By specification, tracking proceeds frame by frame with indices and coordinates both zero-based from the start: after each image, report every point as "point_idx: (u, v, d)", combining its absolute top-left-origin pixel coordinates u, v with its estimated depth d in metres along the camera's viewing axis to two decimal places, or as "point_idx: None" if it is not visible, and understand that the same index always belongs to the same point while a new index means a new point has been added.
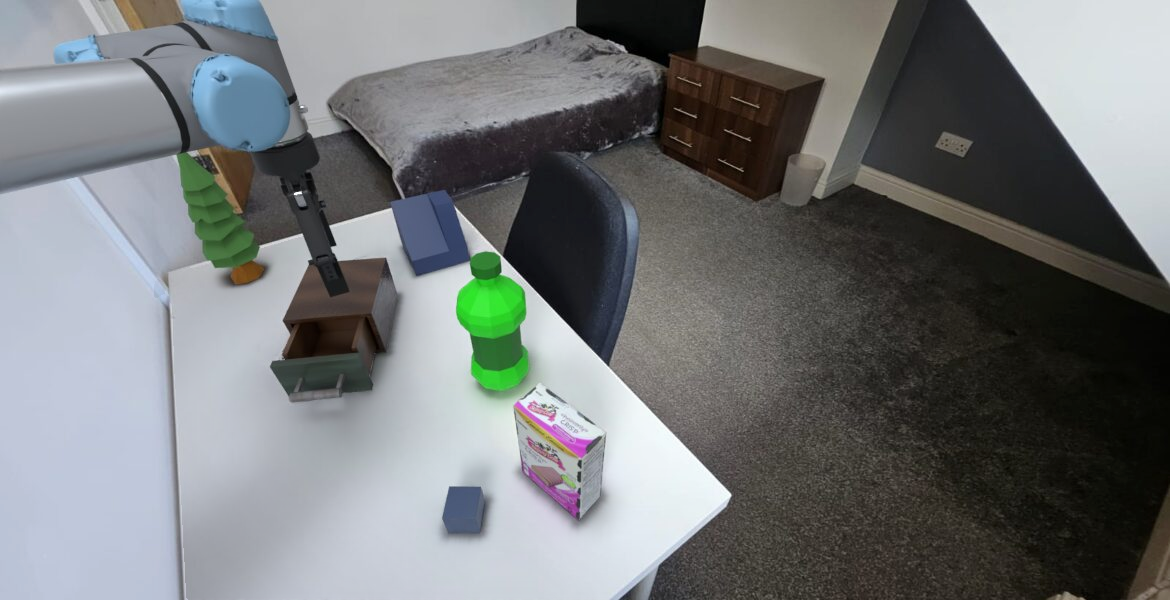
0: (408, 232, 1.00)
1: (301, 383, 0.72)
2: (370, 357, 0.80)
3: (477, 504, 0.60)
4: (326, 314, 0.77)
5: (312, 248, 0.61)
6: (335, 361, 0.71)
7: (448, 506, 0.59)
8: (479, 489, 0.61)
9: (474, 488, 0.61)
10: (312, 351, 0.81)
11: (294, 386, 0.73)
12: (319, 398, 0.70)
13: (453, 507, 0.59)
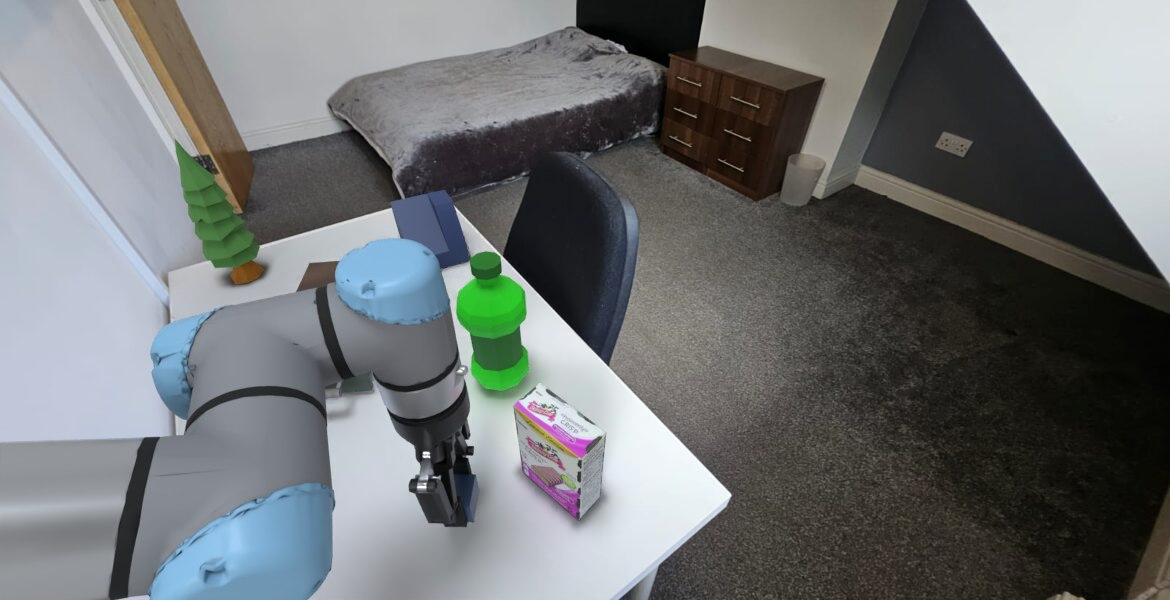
0: (408, 232, 1.00)
1: None
2: None
3: (471, 492, 0.57)
4: None
5: (429, 515, 0.49)
6: None
7: None
8: (473, 477, 0.59)
9: (468, 476, 0.59)
10: None
11: None
12: None
13: None
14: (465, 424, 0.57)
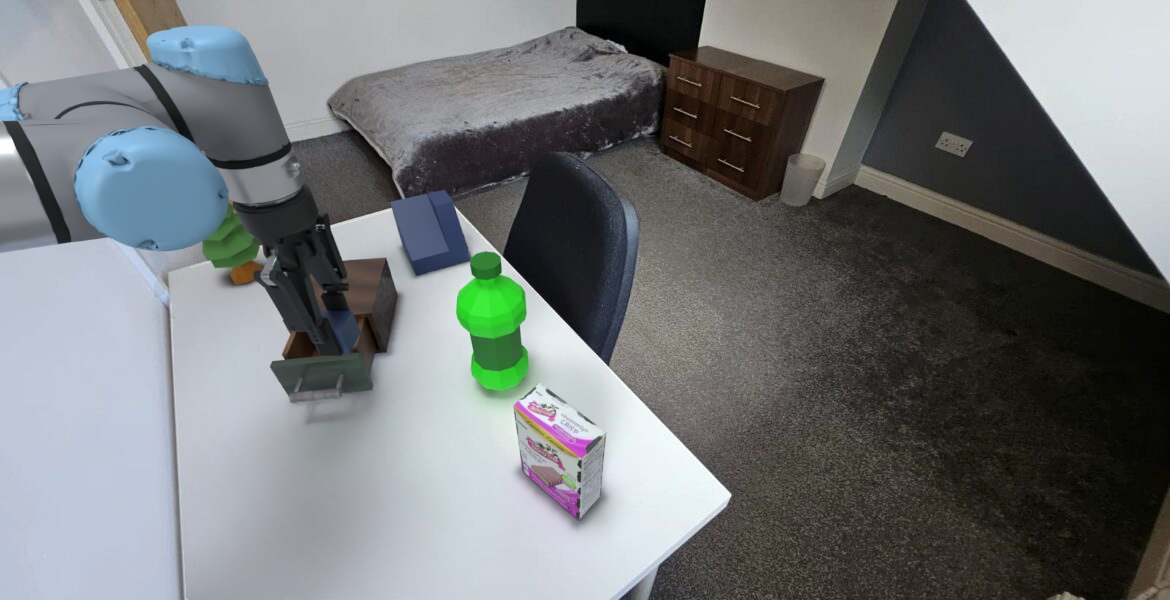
0: (408, 232, 1.00)
1: (301, 383, 0.72)
2: (370, 357, 0.80)
3: (344, 323, 0.63)
4: None
5: (287, 319, 0.55)
6: (335, 361, 0.71)
7: None
8: (349, 312, 0.65)
9: (345, 312, 0.65)
10: (312, 351, 0.81)
11: (294, 386, 0.73)
12: (319, 398, 0.70)
13: None
14: (337, 260, 0.63)
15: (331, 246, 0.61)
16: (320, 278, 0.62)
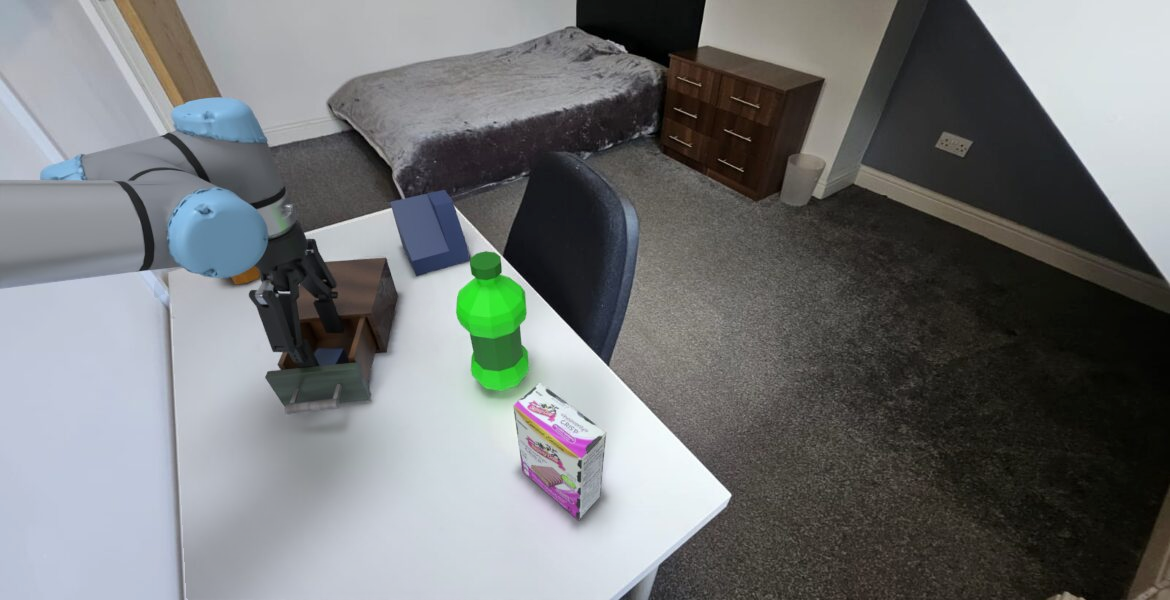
0: (408, 232, 1.00)
1: (297, 394, 0.70)
2: (368, 366, 0.78)
3: (337, 359, 0.75)
4: None
5: (271, 339, 0.63)
6: (332, 371, 0.70)
7: None
8: (341, 350, 0.76)
9: (337, 349, 0.76)
10: None
11: (290, 396, 0.72)
12: (315, 409, 0.69)
13: None
14: (327, 275, 0.73)
15: (320, 265, 0.72)
16: (312, 290, 0.72)
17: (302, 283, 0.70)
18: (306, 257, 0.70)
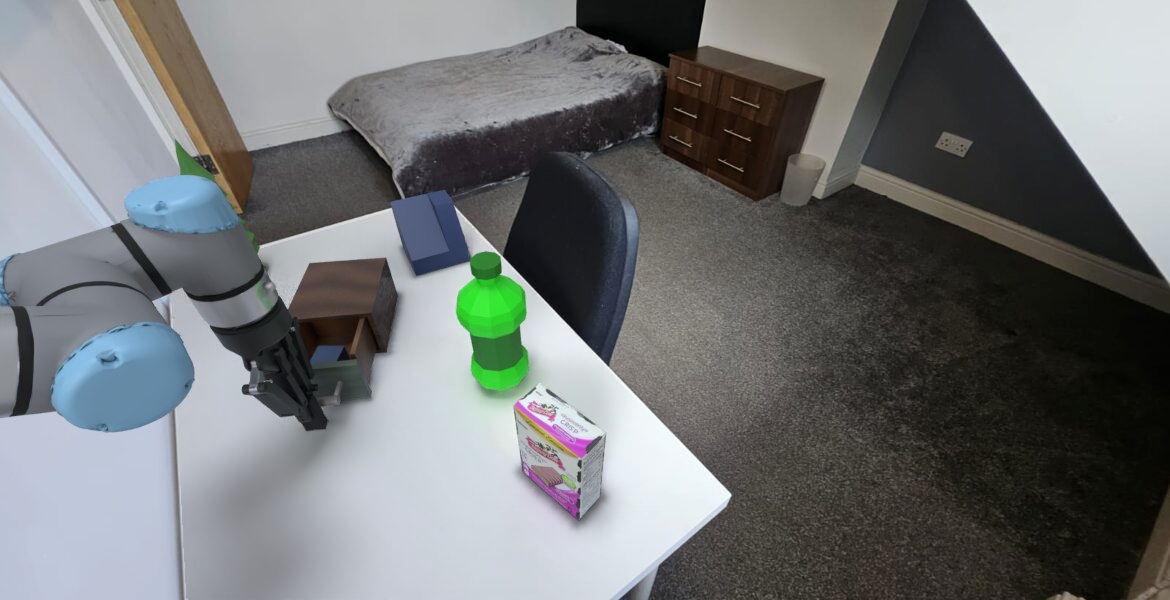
0: (408, 232, 1.00)
1: None
2: (369, 363, 0.79)
3: (338, 356, 0.75)
4: (326, 314, 0.77)
5: (276, 411, 0.60)
6: (333, 368, 0.70)
7: (314, 357, 0.75)
8: (342, 347, 0.77)
9: (338, 346, 0.77)
10: (310, 357, 0.80)
11: None
12: None
13: (318, 358, 0.75)
14: (305, 360, 0.65)
15: (300, 347, 0.64)
16: None
17: None
18: None
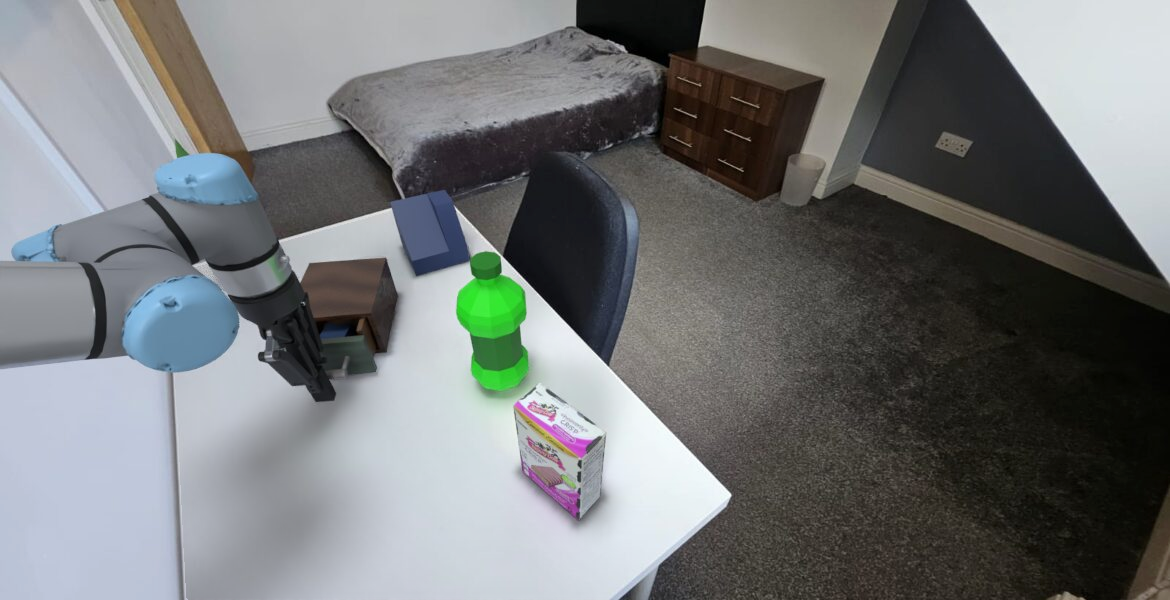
0: (408, 232, 1.00)
1: None
2: (374, 341, 0.83)
3: (345, 333, 0.79)
4: (326, 314, 0.77)
5: (289, 379, 0.64)
6: (341, 343, 0.74)
7: (322, 334, 0.79)
8: (349, 325, 0.80)
9: (345, 325, 0.81)
10: None
11: None
12: None
13: (326, 335, 0.79)
14: (315, 334, 0.69)
15: (310, 321, 0.68)
16: None
17: None
18: None
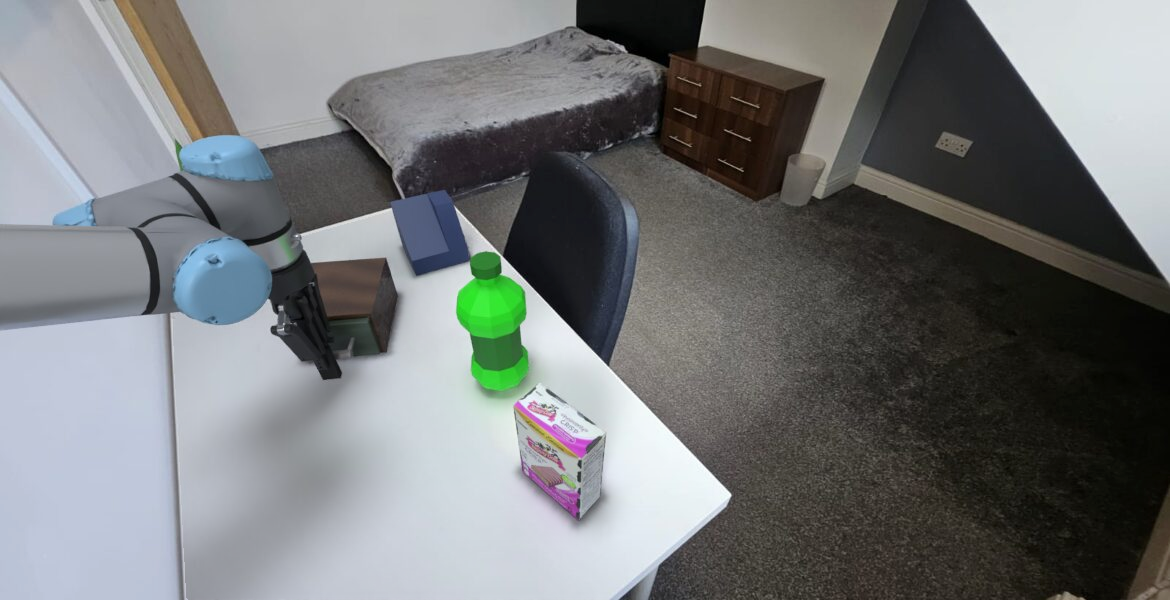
0: (408, 232, 1.00)
1: None
2: None
3: None
4: None
5: (299, 354, 0.68)
6: (347, 325, 0.77)
7: None
8: None
9: None
10: None
11: None
12: None
13: None
14: (323, 314, 0.73)
15: (319, 301, 0.71)
16: None
17: None
18: None
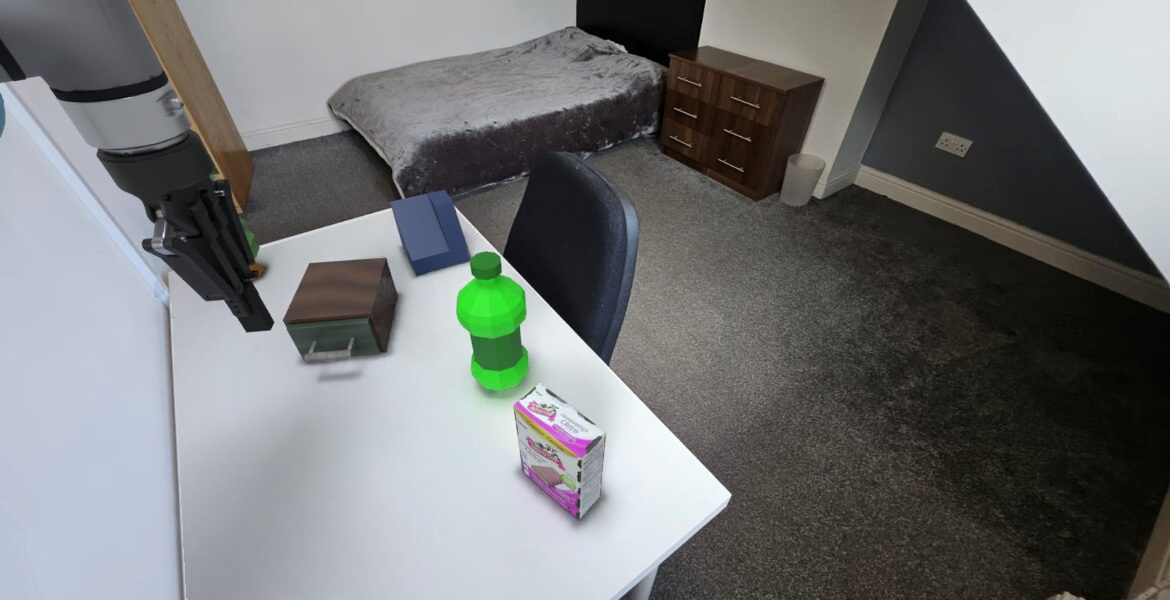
0: (408, 232, 1.00)
1: (315, 345, 0.78)
2: None
3: None
4: (326, 314, 0.77)
5: (198, 289, 0.48)
6: (347, 325, 0.77)
7: None
8: None
9: None
10: None
11: (308, 349, 0.79)
12: (332, 358, 0.76)
13: None
14: (242, 239, 0.53)
15: (234, 219, 0.52)
16: None
17: None
18: None
